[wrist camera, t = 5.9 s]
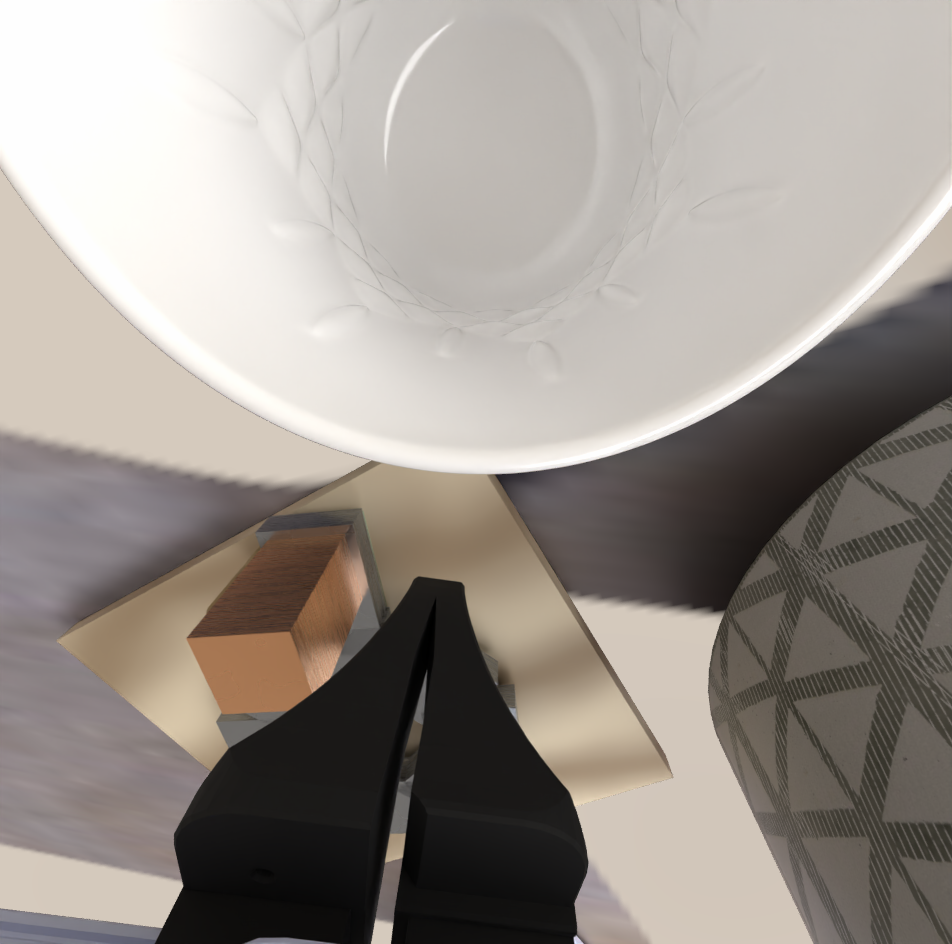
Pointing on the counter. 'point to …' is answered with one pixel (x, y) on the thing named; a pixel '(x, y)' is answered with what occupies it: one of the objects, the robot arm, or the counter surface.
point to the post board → (398, 563)
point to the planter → (852, 693)
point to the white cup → (481, 200)
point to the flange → (299, 626)
